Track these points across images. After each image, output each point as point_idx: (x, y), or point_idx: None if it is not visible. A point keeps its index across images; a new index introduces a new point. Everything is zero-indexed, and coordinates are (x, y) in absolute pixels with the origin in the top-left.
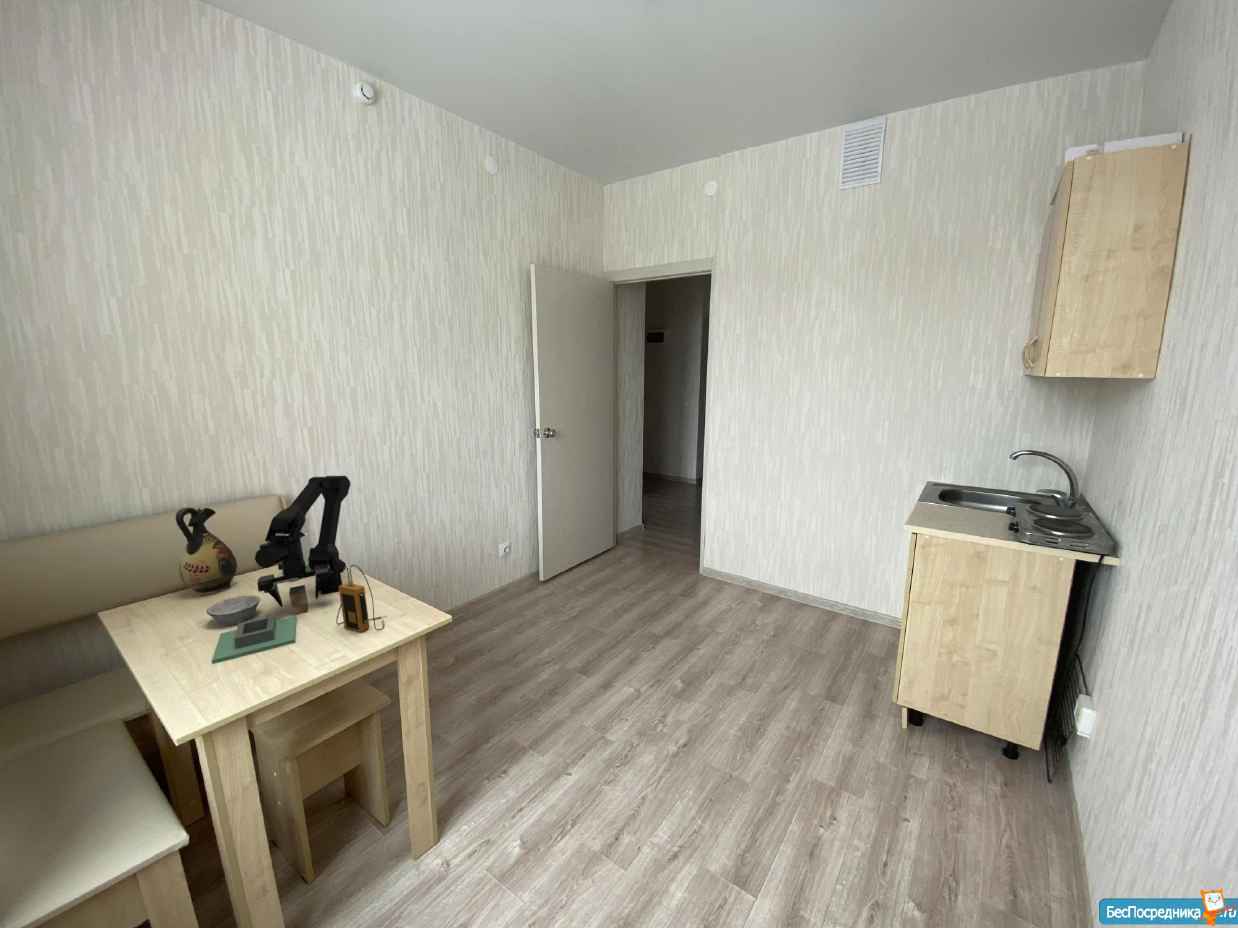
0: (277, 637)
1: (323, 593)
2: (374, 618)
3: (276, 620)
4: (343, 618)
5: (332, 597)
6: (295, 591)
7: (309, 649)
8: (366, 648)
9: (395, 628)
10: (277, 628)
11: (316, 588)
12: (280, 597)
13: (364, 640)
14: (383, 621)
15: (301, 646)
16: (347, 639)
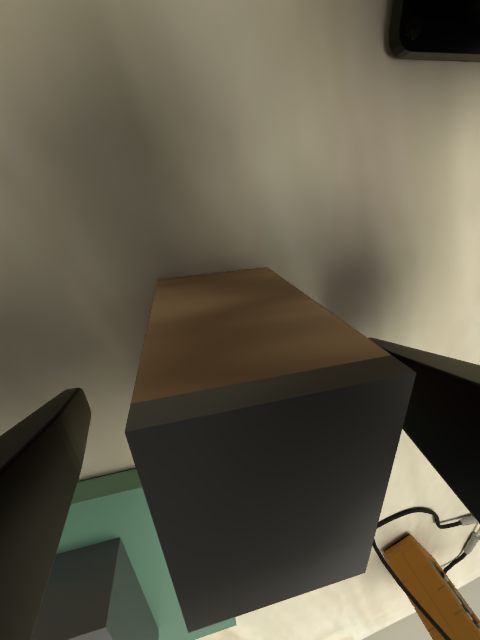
0: (166, 618)
1: (411, 56)
2: (469, 522)
3: (100, 496)
4: (411, 602)
5: (433, 200)
6: (260, 575)
7: (276, 627)
8: (392, 619)
9: (475, 560)
10: (141, 567)
11: (471, 502)
12: (26, 484)
13: (400, 597)
14: (476, 541)
15: (254, 618)
16: (369, 593)
